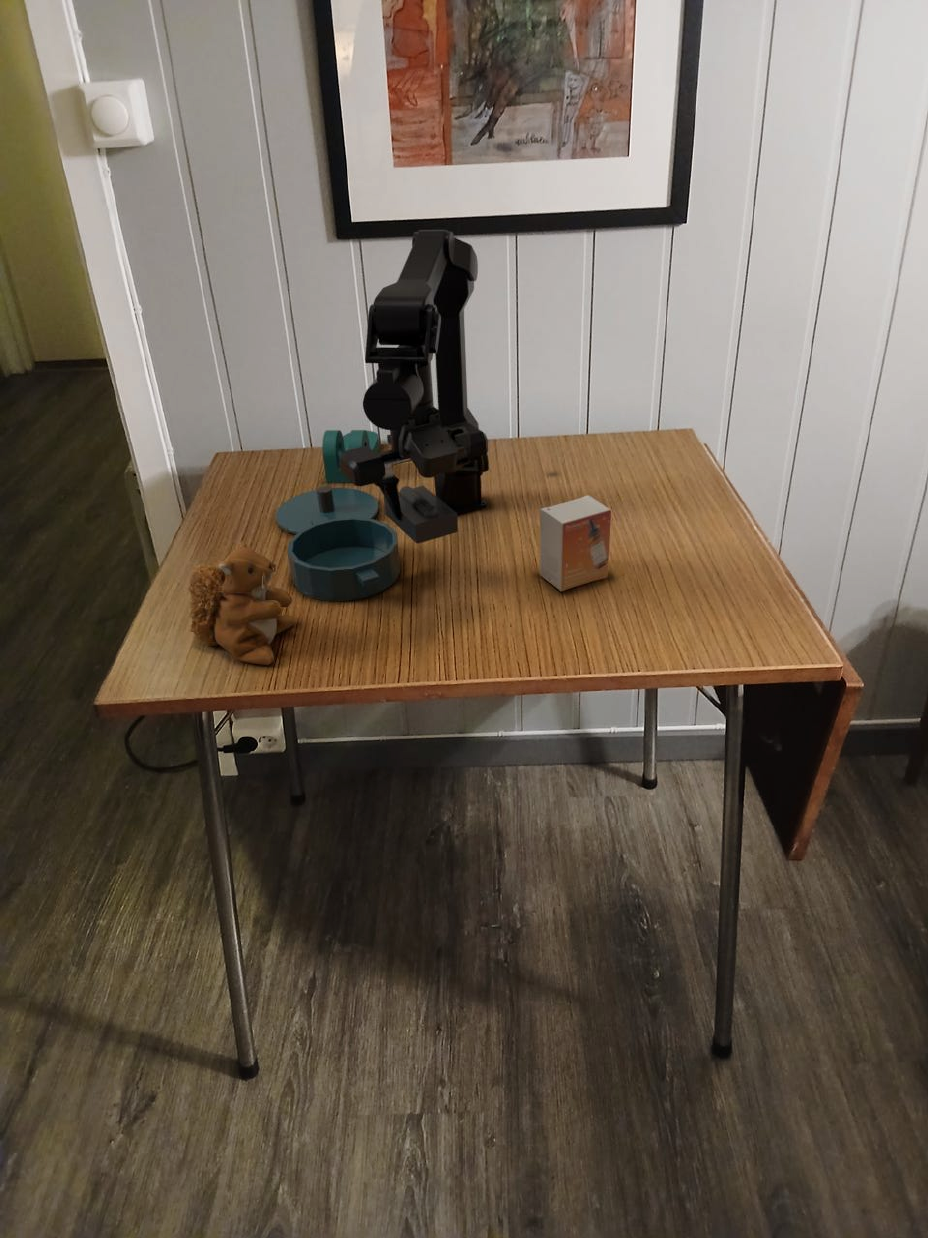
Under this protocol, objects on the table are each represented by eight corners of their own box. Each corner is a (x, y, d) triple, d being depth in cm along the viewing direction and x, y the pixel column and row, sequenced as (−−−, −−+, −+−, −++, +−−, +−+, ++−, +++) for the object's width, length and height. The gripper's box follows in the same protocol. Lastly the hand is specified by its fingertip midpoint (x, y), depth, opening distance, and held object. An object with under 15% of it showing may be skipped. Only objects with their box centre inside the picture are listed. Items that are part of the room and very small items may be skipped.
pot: (369, 531, 144) (365, 501, 141) (426, 590, 128) (423, 558, 126) (273, 556, 139) (268, 527, 136) (320, 622, 123) (315, 589, 120)
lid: (356, 485, 159) (353, 459, 156) (395, 522, 146) (392, 495, 144) (263, 508, 153) (259, 482, 150) (295, 549, 140) (291, 521, 138)
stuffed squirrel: (275, 668, 114) (257, 576, 107) (174, 655, 118) (150, 565, 111) (307, 624, 122) (293, 536, 115) (212, 613, 126) (192, 527, 119)
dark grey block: (424, 503, 129) (422, 477, 127) (458, 532, 121) (456, 504, 119) (385, 514, 127) (382, 487, 124) (416, 544, 119) (414, 516, 117)
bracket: (364, 482, 160) (359, 439, 155) (326, 482, 160) (320, 439, 156) (382, 441, 174) (378, 401, 170) (347, 441, 175) (342, 401, 171)
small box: (560, 593, 126) (561, 524, 120) (538, 575, 130) (538, 507, 125) (609, 577, 129) (612, 508, 123) (586, 560, 133) (588, 493, 127)
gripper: (366, 436, 105) (379, 556, 114) (508, 402, 112) (511, 518, 121) (330, 407, 113) (345, 521, 122) (465, 377, 120) (470, 487, 129)
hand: (419, 512), depth 123 cm, fingers closed on dark grey block, 6 cm apart
